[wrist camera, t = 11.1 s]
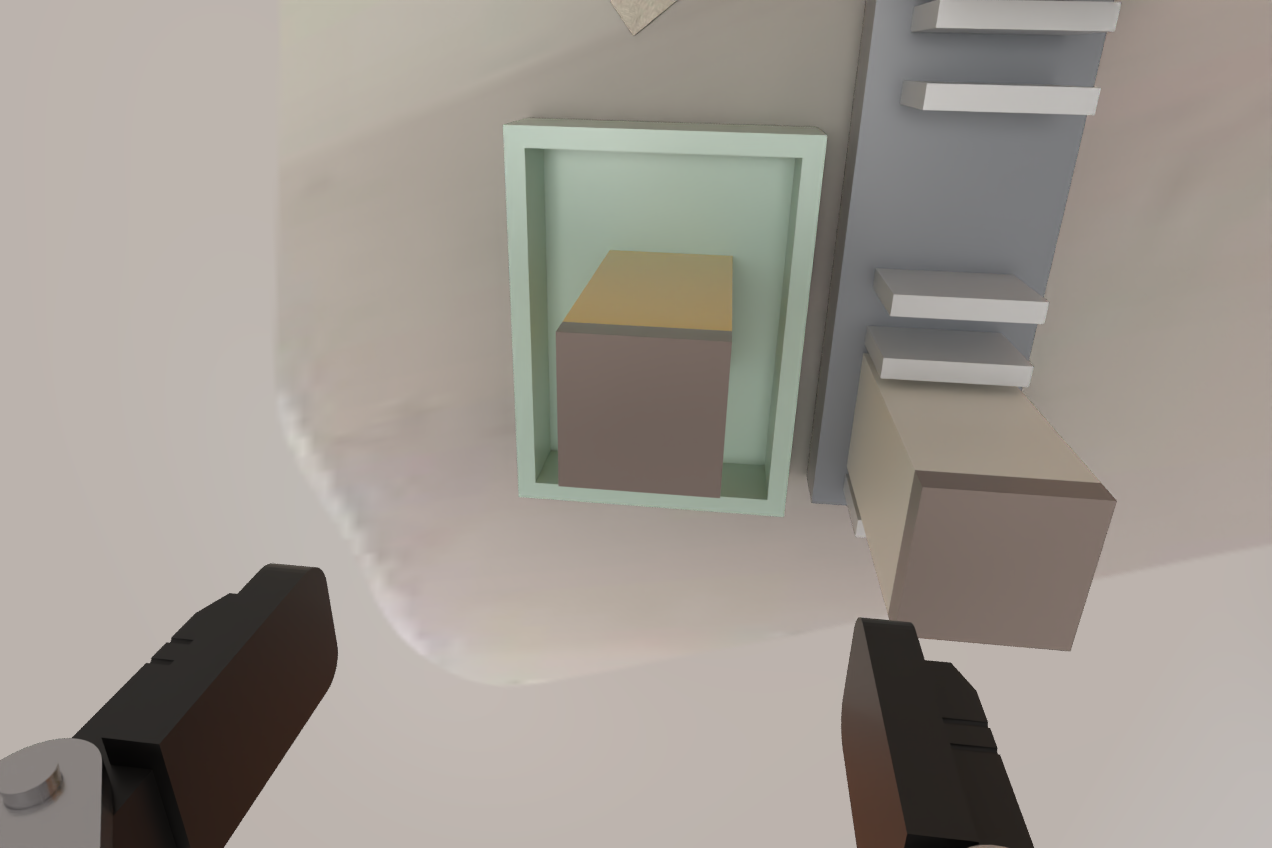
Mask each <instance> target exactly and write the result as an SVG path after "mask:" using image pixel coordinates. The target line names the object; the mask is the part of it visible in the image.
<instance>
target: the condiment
mask: <svg viewBox="0 0 1272 848" xmlns="http://www.w3.org/2000/svg"><path fill="white" fill-rule="evenodd" d="M610 1H611V3H612V5H613V6H614V8H615V9H616V11H617V12H618V14H619V15H620V17H621V18H622V20H623V21H624V23H625V24H626V26H627V27H628V29H629V30H630V32H631V33H632V35H633V36H634V35H635V34H636V33H638V32H639V31H640V30H641V29H643V28H644V27H645V26H646V25H647V24H649V23H650V22H651V21H652V20H653V19H655V18H656V17H657V16H658V15H659V14H661V13H662V12H663V11H664V10H666V9H667V8H668V7H669V6H671V5H672V4H673V3H674V2H675V1H677V0H610Z"/></svg>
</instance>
